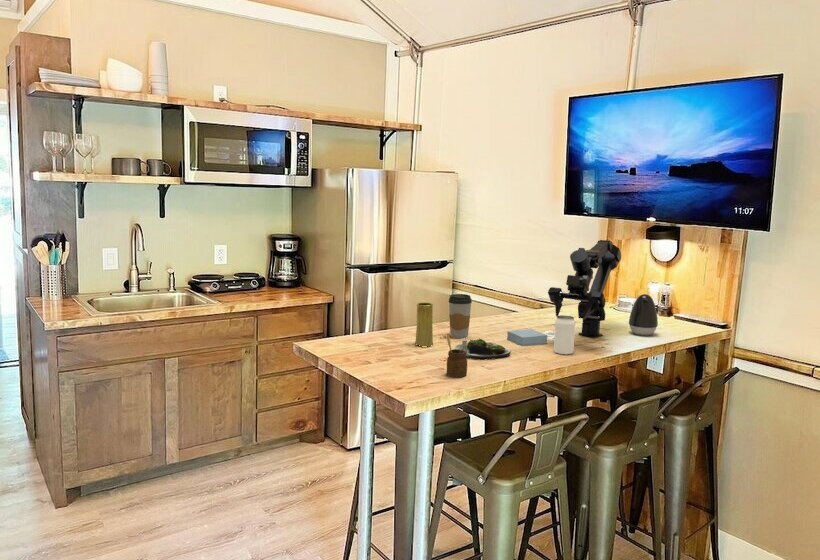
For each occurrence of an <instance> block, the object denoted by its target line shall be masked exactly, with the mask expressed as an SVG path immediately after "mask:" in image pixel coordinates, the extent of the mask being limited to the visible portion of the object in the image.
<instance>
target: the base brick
mask: <svg viewBox="0 0 820 560" xmlns="http://www.w3.org/2000/svg"><path fill="white" fill-rule="evenodd" d="M506 340H508V341H510V342H513V343H514V344H517V345H519V346H521V347H528V345H529V346H537V345H538V344H539V345H548V339H547V335H545V334H543V333H542V332H540V331H537V330H536V329H535V330H534V329H532V328H529V329H528V328H527V329H516V330H507V338H506Z"/></svg>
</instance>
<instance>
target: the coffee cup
mask: <svg viewBox="0 0 820 560" xmlns="http://www.w3.org/2000/svg"><path fill="white" fill-rule="evenodd" d="M472 303H473V302H472V297H471V295H469V294H465V293H454V294H452V293H451V294H450V295H449V298H448V306H449V307H448V308H449V309H448V310H449V315H448V317H449V318H448V319H449V335H450V337H451V336H452V337H451V338H453V337H454V338H453V339H466V337H467V338H468V337H469V336H468V335H469V329H470V322H471V321H470V320H471V307H472Z"/></svg>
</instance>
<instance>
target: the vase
mask: <svg viewBox="0 0 820 560" xmlns="http://www.w3.org/2000/svg"><path fill="white" fill-rule="evenodd" d="M433 335H434V333H433V303H431V302H417V304H416V331H415V343H414V344H417V345H420V346H429V347H432V346H433V345H434V341H433V337H434V336H433ZM417 345H416V346H417ZM431 345H432V346H431ZM420 346H419V347H420Z"/></svg>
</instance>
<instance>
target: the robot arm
mask: <svg viewBox="0 0 820 560" xmlns="http://www.w3.org/2000/svg"><path fill="white" fill-rule="evenodd" d="M569 258H570V262H571V264H572V268H573V270H574V271H575V274H574V275H572V274H568V275H567V277H566V282H565V284H566V286H567V291H568V292H565V291H563V290H562V288H561V287H553V286H551V287H549V288H548V290H547V294H548V298H549V299H550V302H551V303H553V304H554V309H555V316H556V317H557V316H560V315H559V314H560V312H561V308H562V306H563V301H564V299H569V300H574V301H579V302H578V304H577V305H578V306H577V314H578V315H577V316H578V319H582V323H581V332H578V335H580V336H584V337H587V338H596V337H601V336H603V335H604V334H603V333H601V332H600V330H601V329H600V328H601V327H600V325H601V322H603V321H604V322H605V321H606V310H605V306H606V299H605V294H604V291H605V288H606V285H607V282H608V280H609V277H610V274H611V273H612V272H611V271H613V270H615V269H616V268H617V267H618V265H619V263H620V262H621V259H622V252H621V250H620V248H619V247H618V246H616V245H615V244H614V243H613V241H611V240H607V239H606V240H605V239H600V240H597V242H596V244H595V245H593V246H592V247H591V248H590V249H587V250H586V248H584V247H578V249H577V250H574V251H572V253H570V256H569ZM593 269H597V270H596V273H595V275H594V270H593ZM593 275H594V276H593ZM593 277H594V278H593ZM592 280H593V281H592ZM591 282H592V284H591ZM590 284H591V285H590ZM590 286H591V287H590Z"/></svg>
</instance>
